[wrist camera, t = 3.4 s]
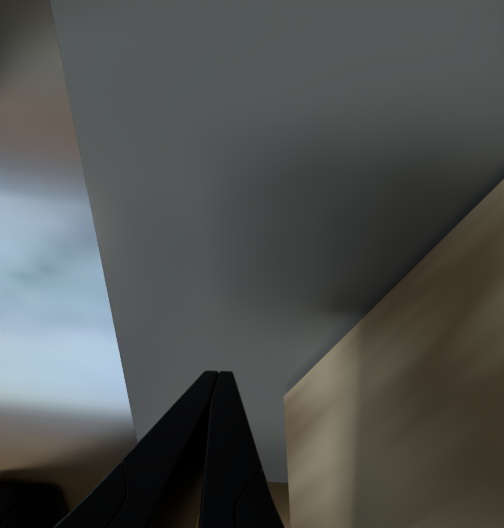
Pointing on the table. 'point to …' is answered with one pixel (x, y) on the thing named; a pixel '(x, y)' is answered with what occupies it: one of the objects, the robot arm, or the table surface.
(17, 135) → the table surface
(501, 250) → the beige flat block
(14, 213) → the table surface
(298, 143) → the slate board
